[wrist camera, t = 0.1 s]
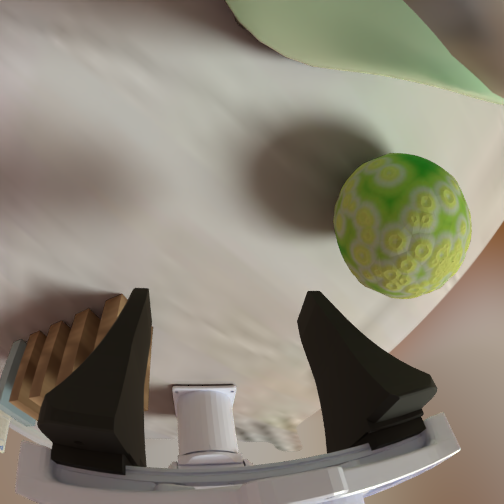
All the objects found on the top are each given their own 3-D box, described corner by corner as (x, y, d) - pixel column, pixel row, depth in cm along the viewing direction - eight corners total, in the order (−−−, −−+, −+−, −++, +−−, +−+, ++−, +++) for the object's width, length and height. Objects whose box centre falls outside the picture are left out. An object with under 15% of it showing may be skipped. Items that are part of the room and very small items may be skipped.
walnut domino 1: (59, 360, 29) (44, 425, 22) (30, 334, 26) (8, 401, 19) (69, 356, 29) (55, 424, 22) (39, 330, 26) (17, 400, 19)
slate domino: (40, 366, 30) (26, 426, 22) (13, 342, 27) (-8, 404, 20) (49, 363, 29) (34, 425, 22) (21, 339, 27) (-1, 403, 19)
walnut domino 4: (136, 333, 28) (129, 414, 21) (105, 300, 25) (86, 385, 18) (153, 327, 28) (148, 410, 21) (122, 293, 25) (105, 381, 18)
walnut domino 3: (106, 344, 28) (95, 419, 21) (75, 314, 26) (53, 393, 18) (120, 339, 28) (110, 417, 21) (89, 308, 25) (68, 390, 18)
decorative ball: (343, 263, 27) (393, 349, 19) (291, 177, 21) (349, 260, 13) (428, 207, 25) (497, 273, 17) (398, 112, 19) (496, 159, 11)
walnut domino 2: (81, 352, 29) (67, 423, 22) (50, 325, 26) (28, 398, 19) (92, 348, 29) (79, 421, 21) (62, 320, 26) (39, 395, 18)
